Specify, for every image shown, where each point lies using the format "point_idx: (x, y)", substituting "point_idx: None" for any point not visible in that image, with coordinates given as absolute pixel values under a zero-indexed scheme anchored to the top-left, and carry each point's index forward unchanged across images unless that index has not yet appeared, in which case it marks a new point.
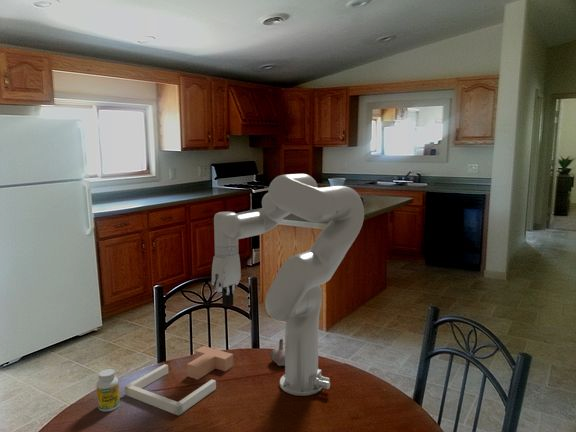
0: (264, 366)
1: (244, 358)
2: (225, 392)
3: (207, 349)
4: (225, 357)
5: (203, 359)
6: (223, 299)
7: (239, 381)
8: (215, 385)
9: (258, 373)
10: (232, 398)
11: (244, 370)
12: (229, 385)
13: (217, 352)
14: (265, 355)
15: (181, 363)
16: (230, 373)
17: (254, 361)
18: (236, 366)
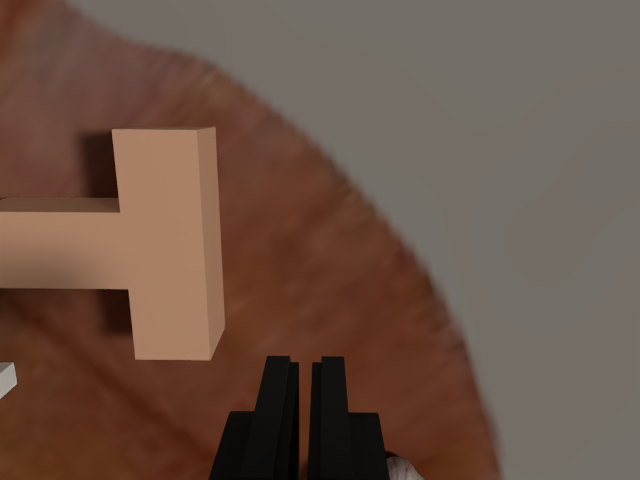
0: (301, 448)
1: (322, 328)
2: (23, 430)
3: (171, 188)
4: (153, 348)
5: (57, 257)
6: (220, 460)
7: (127, 428)
8: (2, 393)
9: None
10: (9, 475)
11: (219, 394)
12: (75, 412)
13: (174, 271)
14: (403, 397)
15: (84, 58)
16: None
17: None
18: (230, 342)
